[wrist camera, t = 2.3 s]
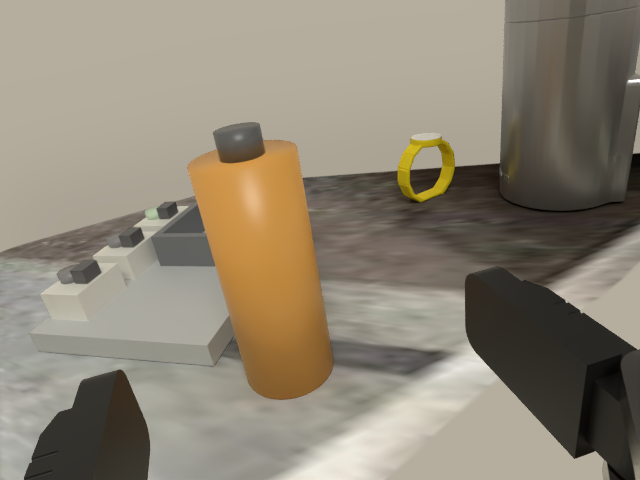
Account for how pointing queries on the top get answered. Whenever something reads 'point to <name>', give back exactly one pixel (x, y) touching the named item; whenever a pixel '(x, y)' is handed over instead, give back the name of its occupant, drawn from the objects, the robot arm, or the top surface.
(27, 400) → the top surface
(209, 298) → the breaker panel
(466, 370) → the top surface
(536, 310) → the robot arm
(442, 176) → the watch
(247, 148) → the orange thermos flask
